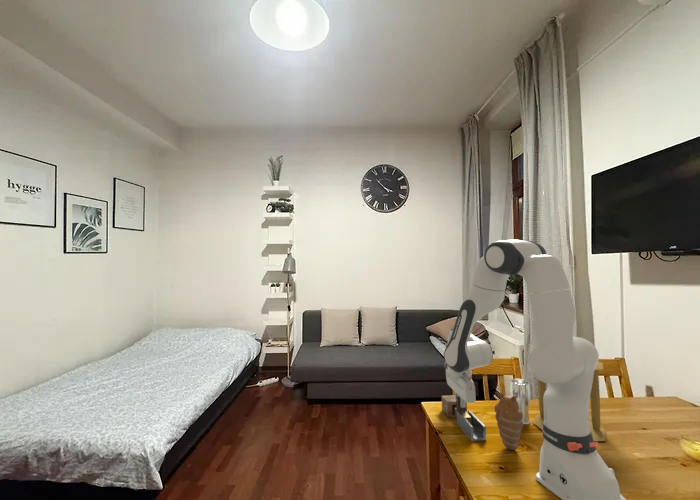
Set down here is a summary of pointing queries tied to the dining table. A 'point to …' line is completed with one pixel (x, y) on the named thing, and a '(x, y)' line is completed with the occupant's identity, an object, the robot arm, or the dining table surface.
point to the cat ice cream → (509, 420)
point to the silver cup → (522, 396)
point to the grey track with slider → (472, 427)
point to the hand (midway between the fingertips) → (460, 405)
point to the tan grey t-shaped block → (461, 410)
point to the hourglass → (595, 427)
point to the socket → (449, 405)
